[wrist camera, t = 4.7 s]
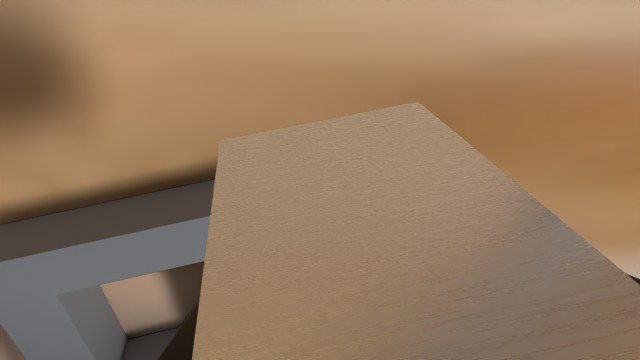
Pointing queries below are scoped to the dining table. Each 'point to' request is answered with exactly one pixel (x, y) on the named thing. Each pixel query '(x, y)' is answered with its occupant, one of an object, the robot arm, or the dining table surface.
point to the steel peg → (396, 253)
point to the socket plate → (95, 271)
